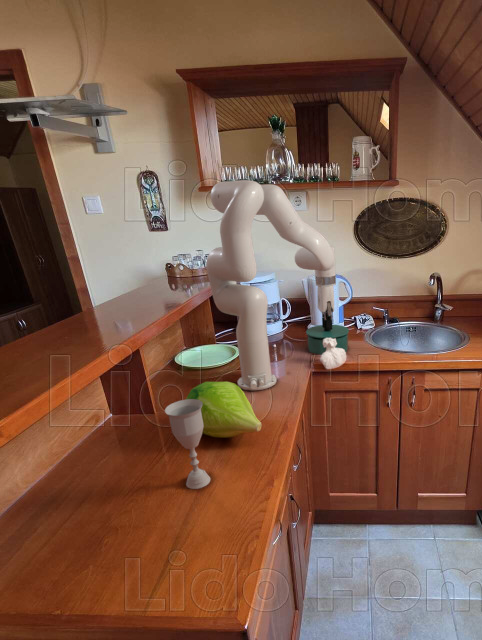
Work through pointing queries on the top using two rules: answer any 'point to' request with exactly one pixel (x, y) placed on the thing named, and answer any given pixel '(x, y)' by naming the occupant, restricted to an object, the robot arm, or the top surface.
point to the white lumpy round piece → (332, 354)
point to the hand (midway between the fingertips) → (327, 328)
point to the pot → (317, 347)
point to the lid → (327, 331)
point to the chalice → (189, 435)
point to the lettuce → (224, 409)
